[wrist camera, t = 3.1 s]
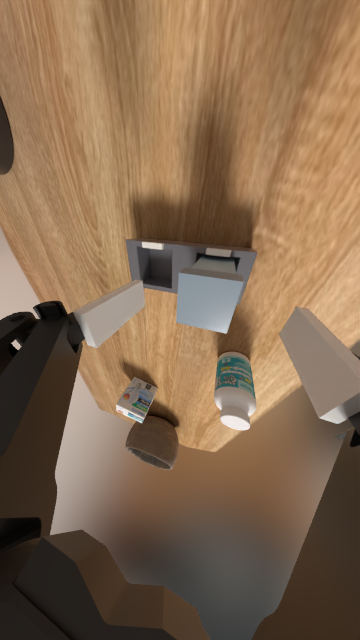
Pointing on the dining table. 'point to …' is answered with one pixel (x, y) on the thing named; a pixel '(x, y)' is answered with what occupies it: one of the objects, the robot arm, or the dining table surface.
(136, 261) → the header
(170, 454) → the bowl
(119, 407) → the light bulb box
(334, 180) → the dining table surface
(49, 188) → the dining table surface
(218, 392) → the pill bottle
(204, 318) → the plug
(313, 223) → the dining table surface
